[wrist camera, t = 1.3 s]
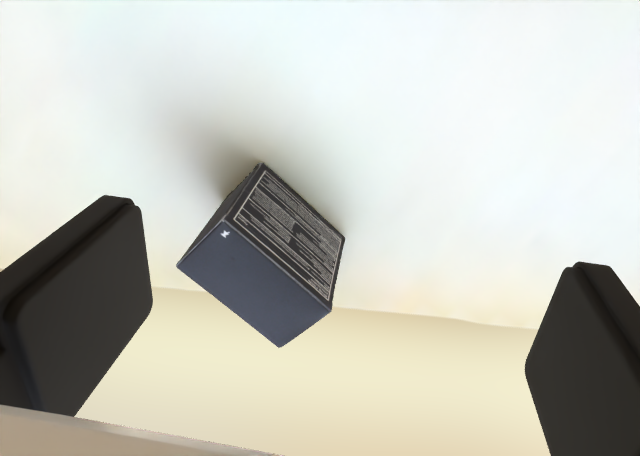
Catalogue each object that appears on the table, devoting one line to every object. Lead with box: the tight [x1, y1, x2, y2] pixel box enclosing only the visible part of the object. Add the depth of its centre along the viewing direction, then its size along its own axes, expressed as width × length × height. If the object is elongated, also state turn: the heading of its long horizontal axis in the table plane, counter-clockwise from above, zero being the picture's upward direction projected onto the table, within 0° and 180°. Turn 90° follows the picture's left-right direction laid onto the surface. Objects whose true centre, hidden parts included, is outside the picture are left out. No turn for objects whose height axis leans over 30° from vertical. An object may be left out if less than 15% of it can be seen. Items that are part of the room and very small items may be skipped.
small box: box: [176, 163, 345, 347], centre depth 37 cm, size 11×6×10 cm, turn 47°
